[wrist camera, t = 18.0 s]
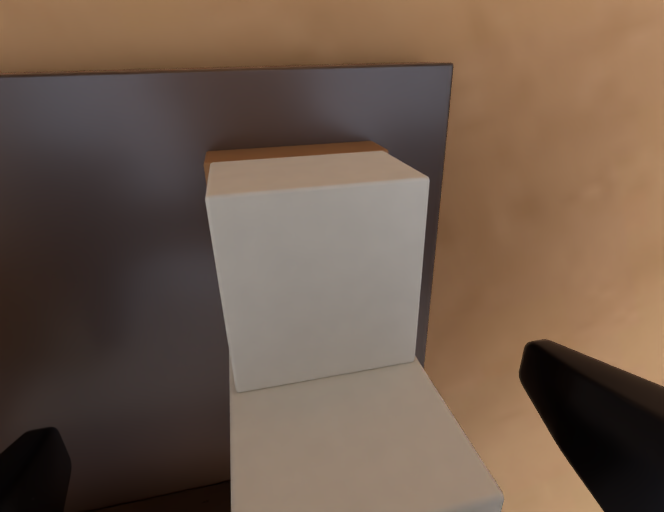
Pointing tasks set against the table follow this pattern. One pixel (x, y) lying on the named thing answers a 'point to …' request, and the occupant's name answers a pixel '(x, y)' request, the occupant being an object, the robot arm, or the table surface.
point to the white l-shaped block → (332, 336)
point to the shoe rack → (160, 253)
